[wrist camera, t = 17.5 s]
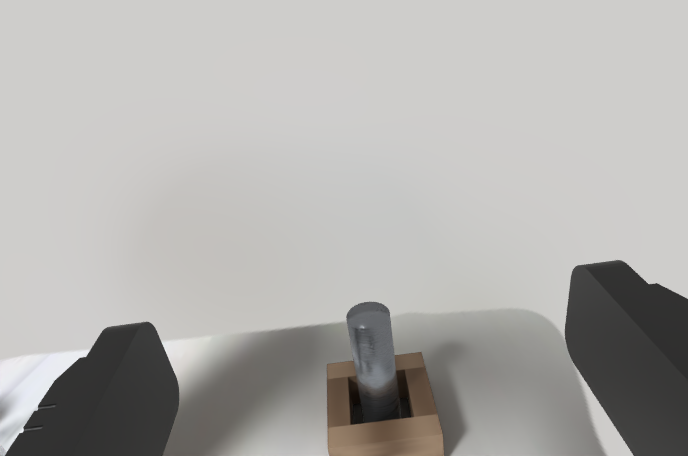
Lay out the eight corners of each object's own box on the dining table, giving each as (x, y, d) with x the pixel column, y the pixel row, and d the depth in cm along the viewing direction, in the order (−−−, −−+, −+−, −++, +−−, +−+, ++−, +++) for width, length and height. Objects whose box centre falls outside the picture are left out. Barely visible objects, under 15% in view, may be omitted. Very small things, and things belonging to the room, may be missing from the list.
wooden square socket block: (334, 477, 36) (327, 448, 35) (332, 391, 44) (327, 364, 42) (444, 464, 36) (442, 434, 34) (423, 379, 44) (421, 351, 42)
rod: (366, 443, 39) (347, 332, 33) (363, 411, 41) (345, 304, 36) (404, 438, 38) (392, 326, 33) (399, 407, 41) (386, 299, 36)
